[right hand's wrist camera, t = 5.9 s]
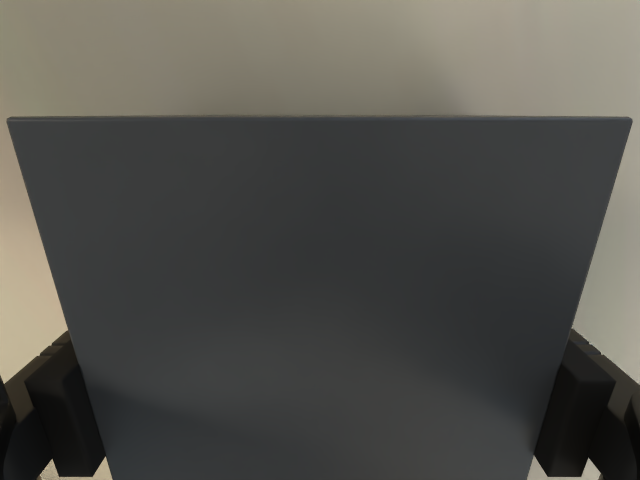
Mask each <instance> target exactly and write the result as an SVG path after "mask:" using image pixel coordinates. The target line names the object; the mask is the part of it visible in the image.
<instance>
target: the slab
mask: <svg viewBox="0 0 640 480" xmlns="http://www.w3.org/2000/svg"><path fill="white" fill-rule="evenodd" d="M632 122H633V121H632V119H631V118H629V117H591V116H32V117H10V118H8V119H7V125H8V128H9V132H10V135H11V138H12V142H13V145H14V149H15V152H16V155H17V159H18V162H19V165H20V169H21V172H22V175H23V179H24V182H25V186H26V189H27V192H28V196H29V199H30V202H31V206H32V209H33V213H34V216H35V219H36V223H37V226H38V229H39V233H40V236H41V239H42V243H43V246H44V250H45V253H46V256H47V260H48V263H49V266H50V270H51V273H52V277H53V280H54V283H55V287H56V290H57V293H58V297H59V300H60V303H61V307H62V310H63V314H64V317H65V320H66V324H67V327H68V330H69V334H70V337H71V341H72V344H73V347H74V351H75V354H76V357H77V361H78V364H79V367H80V370H81V374H82V377H83V380H84V384H85V387H86V391H87V394H88V397H89V401H90V404H91V407H92V411H93V414H94V417H95V421H96V424H97V428H98V431H99V434H100V438H101V441H102V444H103V448H104V451H105V455H106V458H107V462H108V465H109V469H110V472H111V475H112V479H113V480H527V476H528V473H529V470H530V466H531V463H532V459H533V456H534V453H535V449H536V446H537V443H538V439H539V436H540V432H541V429H542V426H543V422H544V419H545V416H546V412H547V409H548V405H549V402H550V399H551V395H552V392H553V389H554V385H555V382H556V378H557V375H558V372H559V368H560V365H561V362H562V358H563V355H564V351H565V348H566V345H567V341H568V338H569V335H570V331H571V328H572V324H573V321H574V318H575V314H576V311H577V308H578V304H579V301H580V297H581V294H582V291H583V287H584V284H585V281H586V277H587V274H588V271H589V267H590V264H591V260H592V257H593V254H594V250H595V247H596V244H597V240H598V237H599V233H600V230H601V227H602V223H603V220H604V217H605V213H606V210H607V206H608V203H609V200H610V196H611V193H612V190H613V186H614V183H615V179H616V176H617V173H618V169H619V166H620V163H621V159H622V156H623V152H624V149H625V146H626V142H627V139H628V136H629V132H630V129H631V125H632Z"/></svg>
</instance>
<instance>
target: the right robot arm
mask: <svg viewBox="0 0 640 480" xmlns="http://www.w3.org/2000/svg"><path fill="white" fill-rule="evenodd" d="M105 456H106V455H105V451H104V448H103V444H102V441H101V438H100V434H99V431H98V428H97V424H96V421H95V417H94V414H93V411H92V407H91V404H90V401H89V397H88V394H87V391H86V387H85V384H84V380H83V377H82V374H81V370H80V367H79V364H78V361H77V357H76V354H75V351H74V347H73V344H72V341H71V337H70V334H69V330H68V331H66V332H65V333H64V334H62V335H61V336H60V337H59V338H58V339H57V340H55V341H54V342H53V343H52V346H48V347H47V348H46V349H45V350H44V351H42V352H41V353H40V356H37V357H35V358H34V359H33V360H32V361H31V362H30V363H28V364H27V365H26V366H25V367H24V368H23V369H21V370H20V371H19V372H18V373H17V374H16V375H14V376H13V377H12V378H11V379H10V380H9V381H7V382H6V383H5V384H4V383H3V381H2V378H1V376H0V480H42V479H41V477H40V474H41V472H42V471H43V470H44V468H45V467H46V466H47V465H48V463H49V462H50V461H51V459H53V461H54V464H55V467H56V469H57V472H58V475H59V477H93V475H94V474H95V472H96V470H97V469H98V467H99V466H100V464H101V462H102V461H103V459H104V458H105ZM534 456H535V457H536V459H537V460H538V462H539V464H540V465H541V467H542V468H543V470H544V472H545V473H546V475H547V476H548V477H581V476H582V473H583V470H584V468H585V465H586V462H587V460H588V457H589V458H590V460H591V461H592V462H593V464H594V465H595V466H596V467H597V469H598V470H599V471H600V472H601V474H600V477H599V479H598V480H640V385H639V384H638V383H636V382H635V381H634V380H633V379H632V378H630V377H629V376H628V375H627V374H626V373H625V372H623V371H622V370H621V369H620V368H619V367H617V366H616V365H615V364H614V363H613V362H612V361H610V360H609V359H608V358H607V357H606V356H604V355H601V352H600V351H599V350H597V349H596V348H595V347H594V346H593V345H589V342H588V341H587V340H586V339H584V338H583V337H582V336H581V335H580V334H578V333H577V332H576V331H575V330H573V329H571V331H570V335H569V338H568V341H567V345H566V348H565V351H564V355H563V358H562V362H561V365H560V368H559V372H558V375H557V378H556V382H555V385H554V389H553V392H552V395H551V399H550V402H549V405H548V409H547V412H546V416H545V419H544V422H543V426H542V429H541V432H540V436H539V439H538V443H537V446H536V449H535V453H534Z"/></svg>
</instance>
